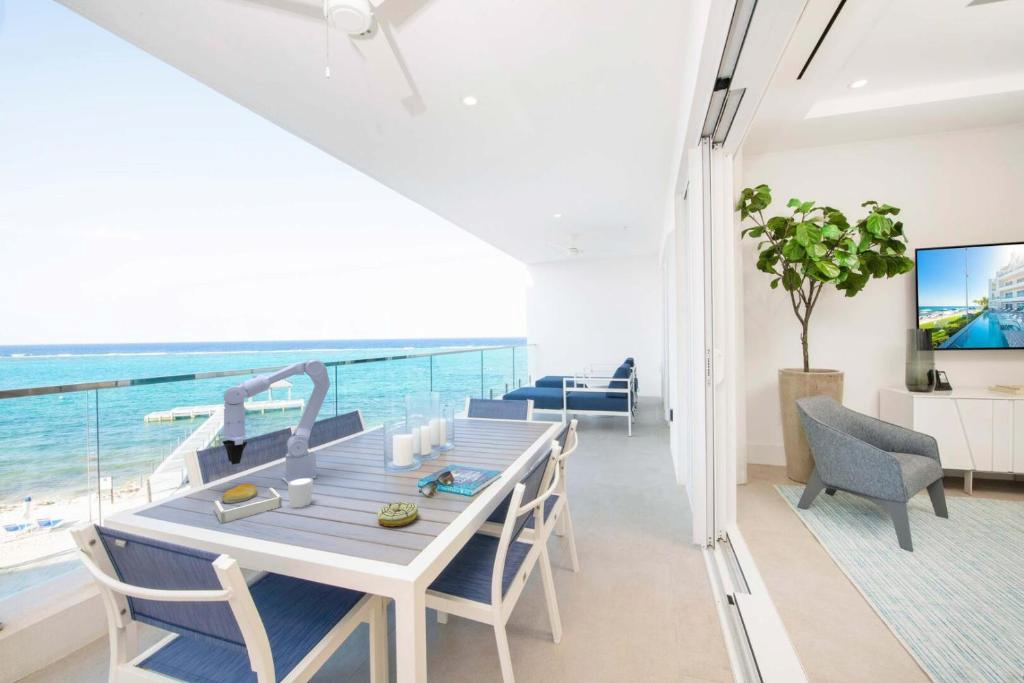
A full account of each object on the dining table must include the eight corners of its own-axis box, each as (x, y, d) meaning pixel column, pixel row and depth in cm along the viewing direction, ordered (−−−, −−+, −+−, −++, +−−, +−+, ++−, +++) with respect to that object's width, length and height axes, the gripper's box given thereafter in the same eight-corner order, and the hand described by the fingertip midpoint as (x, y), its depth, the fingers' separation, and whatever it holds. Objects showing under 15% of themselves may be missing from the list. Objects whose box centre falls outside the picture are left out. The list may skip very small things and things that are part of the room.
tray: (271, 496, 122) (271, 487, 122) (281, 507, 114) (281, 497, 114) (214, 511, 111) (214, 501, 111) (221, 523, 104) (221, 512, 104)
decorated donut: (385, 512, 111) (385, 499, 111) (421, 512, 111) (421, 499, 111) (371, 529, 101) (372, 514, 101) (412, 529, 101) (412, 515, 101)
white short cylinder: (317, 499, 120) (317, 477, 120) (303, 509, 113) (303, 485, 113) (297, 499, 120) (297, 477, 120) (282, 508, 113) (282, 485, 113)
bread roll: (215, 503, 117) (215, 490, 117) (241, 492, 126) (241, 480, 126) (238, 505, 116) (238, 492, 116) (262, 494, 125) (262, 482, 125)
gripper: (216, 420, 130) (215, 460, 130) (223, 427, 120) (223, 470, 120) (240, 417, 135) (240, 455, 135) (250, 423, 125) (250, 464, 125)
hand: (234, 462), depth 127 cm, fingers open, 4 cm apart
